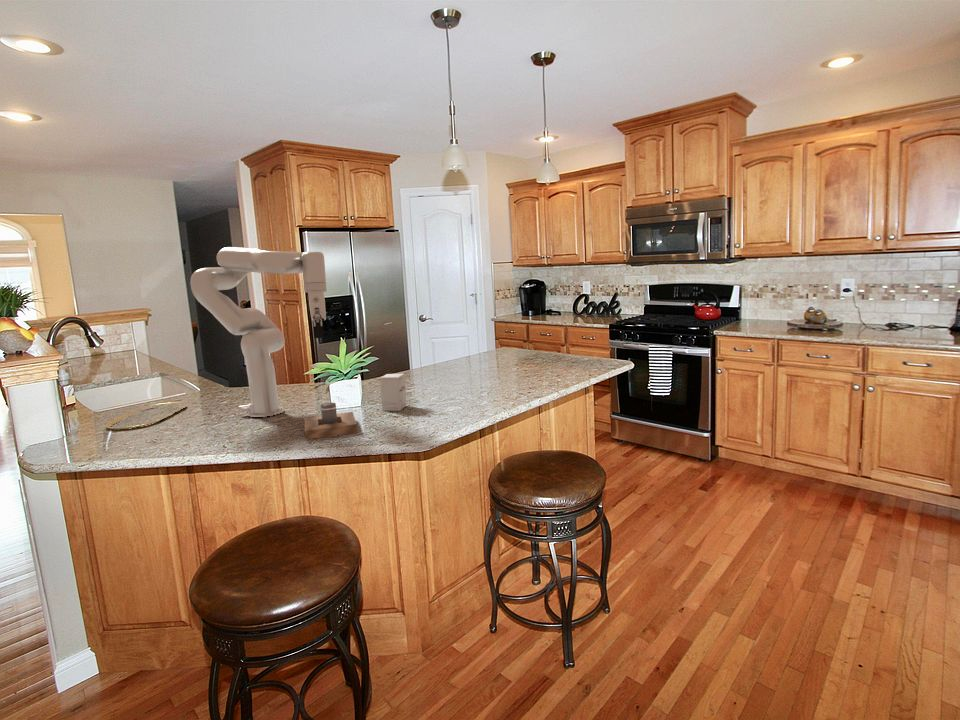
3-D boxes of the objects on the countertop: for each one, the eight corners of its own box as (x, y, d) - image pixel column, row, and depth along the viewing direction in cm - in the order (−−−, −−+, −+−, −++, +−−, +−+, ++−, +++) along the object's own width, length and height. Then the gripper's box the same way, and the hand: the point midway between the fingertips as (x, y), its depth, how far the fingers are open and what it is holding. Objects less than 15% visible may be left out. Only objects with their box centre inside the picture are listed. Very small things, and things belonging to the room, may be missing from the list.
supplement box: (400, 411, 195) (398, 377, 193) (381, 410, 197) (378, 377, 195) (407, 405, 202) (404, 373, 200) (388, 405, 204) (386, 373, 202)
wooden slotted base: (305, 440, 167) (304, 430, 166) (305, 426, 182) (304, 417, 181) (357, 432, 171) (356, 423, 171) (353, 420, 186) (352, 411, 186)
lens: (323, 430, 173) (320, 407, 172) (322, 426, 178) (320, 403, 176) (338, 428, 175) (336, 405, 173) (337, 424, 179) (335, 401, 178)
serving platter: (93, 433, 187) (93, 429, 187) (150, 407, 221) (149, 403, 221) (148, 430, 188) (147, 426, 187) (195, 404, 222) (195, 401, 222)
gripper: (326, 288, 179) (330, 338, 182) (326, 286, 195) (329, 332, 199) (303, 289, 177) (307, 340, 180) (304, 287, 193) (308, 333, 197)
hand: (319, 336), depth 189 cm, fingers open, 9 cm apart
